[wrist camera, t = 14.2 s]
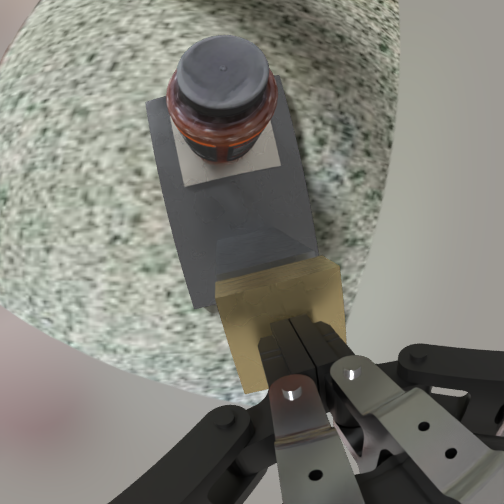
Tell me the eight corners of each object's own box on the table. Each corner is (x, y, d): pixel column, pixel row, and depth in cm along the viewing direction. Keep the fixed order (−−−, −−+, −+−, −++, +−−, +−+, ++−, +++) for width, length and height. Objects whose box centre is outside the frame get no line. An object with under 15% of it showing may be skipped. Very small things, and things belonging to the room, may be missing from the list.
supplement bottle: (269, 113, 20) (313, 50, 9) (239, 175, 21) (261, 156, 10) (204, 86, 19) (195, 6, 8) (172, 148, 20) (129, 105, 9)
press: (150, 108, 21) (104, 50, 10) (274, 83, 22) (314, 14, 11) (195, 300, 26) (182, 377, 14) (314, 271, 26) (378, 323, 15)
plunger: (216, 242, 22) (215, 298, 10) (277, 228, 22) (339, 266, 10) (231, 299, 23) (244, 394, 11) (288, 285, 23) (347, 364, 12)
